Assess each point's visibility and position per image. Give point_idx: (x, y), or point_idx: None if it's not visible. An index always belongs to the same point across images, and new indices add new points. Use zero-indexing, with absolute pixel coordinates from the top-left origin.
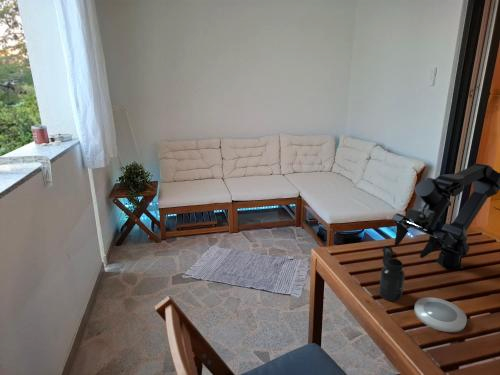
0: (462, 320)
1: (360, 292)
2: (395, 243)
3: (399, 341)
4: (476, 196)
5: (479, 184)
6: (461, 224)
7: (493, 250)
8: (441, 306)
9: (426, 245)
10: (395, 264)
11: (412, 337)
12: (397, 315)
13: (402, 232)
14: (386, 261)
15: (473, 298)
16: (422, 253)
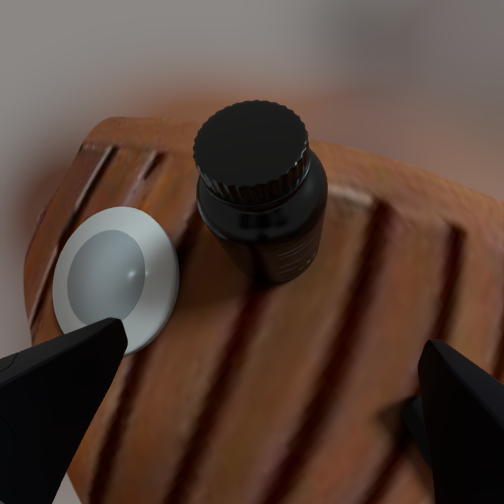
0: (58, 291)
1: (346, 168)
2: (439, 346)
3: (151, 123)
4: None
5: None
6: None
7: None
8: (106, 305)
9: (15, 371)
10: (223, 122)
11: (134, 152)
12: (194, 177)
13: (489, 501)
14: (286, 108)
15: (96, 456)
16: (85, 329)
